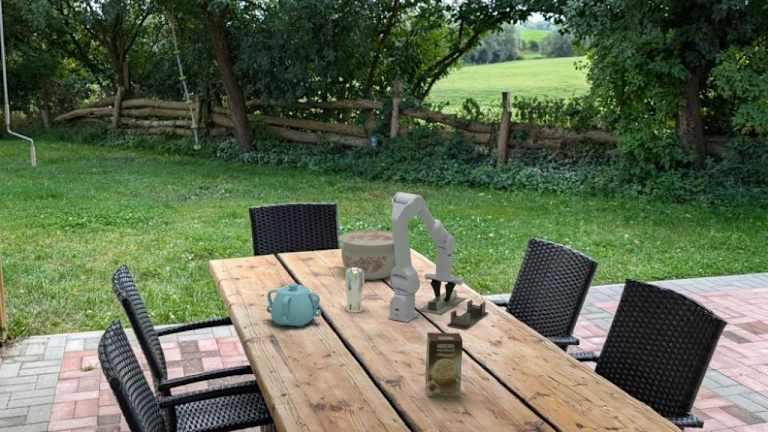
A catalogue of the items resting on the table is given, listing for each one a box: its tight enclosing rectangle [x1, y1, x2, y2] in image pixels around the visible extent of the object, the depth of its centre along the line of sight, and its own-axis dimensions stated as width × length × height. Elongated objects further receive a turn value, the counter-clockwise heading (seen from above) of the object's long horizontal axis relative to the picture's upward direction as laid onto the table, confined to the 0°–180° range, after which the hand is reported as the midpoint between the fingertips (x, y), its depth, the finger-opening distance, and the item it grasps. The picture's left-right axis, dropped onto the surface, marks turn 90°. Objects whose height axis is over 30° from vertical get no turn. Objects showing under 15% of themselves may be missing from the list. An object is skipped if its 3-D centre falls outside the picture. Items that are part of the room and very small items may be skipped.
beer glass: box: [344, 268, 365, 313], centre depth 274 cm, size 7×7×15 cm
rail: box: [427, 289, 457, 311], centre depth 282 cm, size 18×3×3 cm, turn 150°
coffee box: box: [424, 332, 464, 398], centre depth 205 cm, size 9×6×16 cm
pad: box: [418, 296, 467, 316], centre depth 282 cm, size 22×9×1 cm, turn 150°
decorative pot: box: [266, 283, 322, 328], centre depth 261 cm, size 16×16×14 cm
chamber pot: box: [337, 227, 396, 281], centre depth 318 cm, size 28×28×21 cm
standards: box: [446, 299, 489, 331], centre depth 265 cm, size 20×7×5 cm, turn 150°
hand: (442, 300), depth 282 cm, fingers open, 3 cm apart
